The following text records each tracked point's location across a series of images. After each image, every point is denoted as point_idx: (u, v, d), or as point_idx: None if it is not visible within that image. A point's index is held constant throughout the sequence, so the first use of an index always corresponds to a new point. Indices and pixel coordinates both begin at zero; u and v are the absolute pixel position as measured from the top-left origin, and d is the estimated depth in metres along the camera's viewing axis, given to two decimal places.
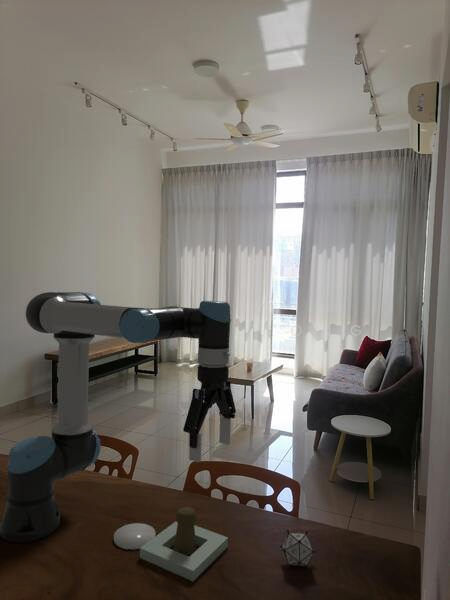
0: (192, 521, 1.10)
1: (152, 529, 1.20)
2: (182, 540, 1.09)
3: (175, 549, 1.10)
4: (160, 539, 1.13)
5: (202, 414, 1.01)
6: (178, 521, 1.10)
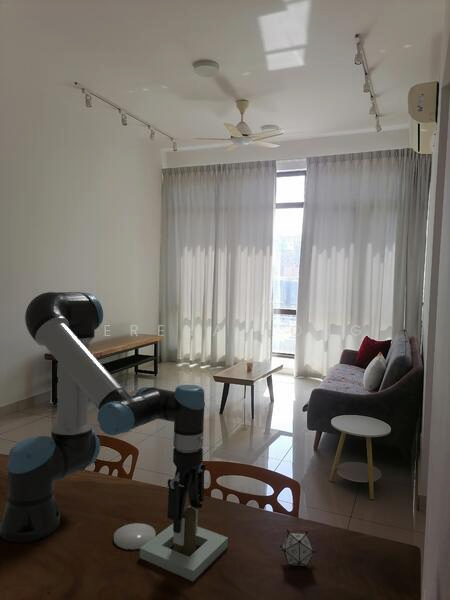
0: (192, 521, 1.10)
1: (152, 529, 1.20)
2: None
3: (175, 549, 1.10)
4: (160, 539, 1.13)
5: (181, 501, 1.08)
6: None
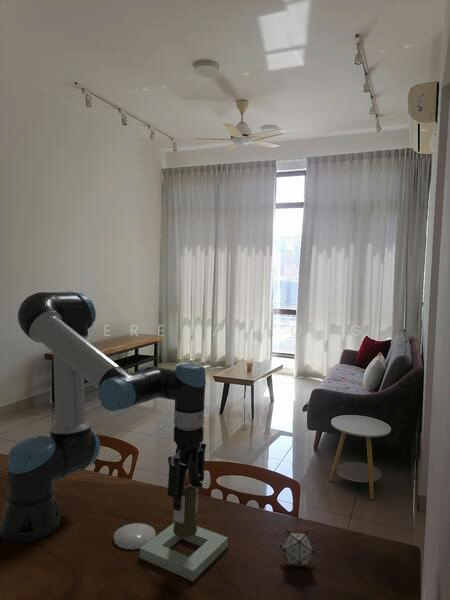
0: (192, 499, 1.10)
1: (152, 529, 1.20)
2: None
3: (175, 527, 1.10)
4: (160, 539, 1.13)
5: (182, 478, 1.08)
6: None
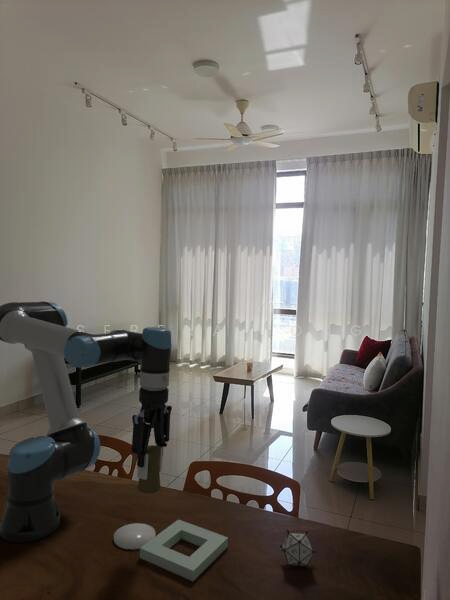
0: (156, 457, 1.14)
1: (152, 529, 1.20)
2: None
3: (139, 484, 1.14)
4: (160, 539, 1.13)
5: (146, 436, 1.12)
6: None
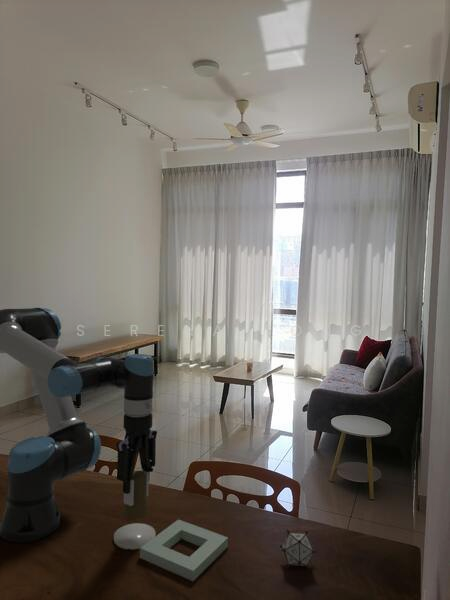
0: (142, 483, 1.15)
1: (152, 529, 1.20)
2: None
3: (126, 510, 1.16)
4: (160, 539, 1.13)
5: (131, 463, 1.14)
6: None
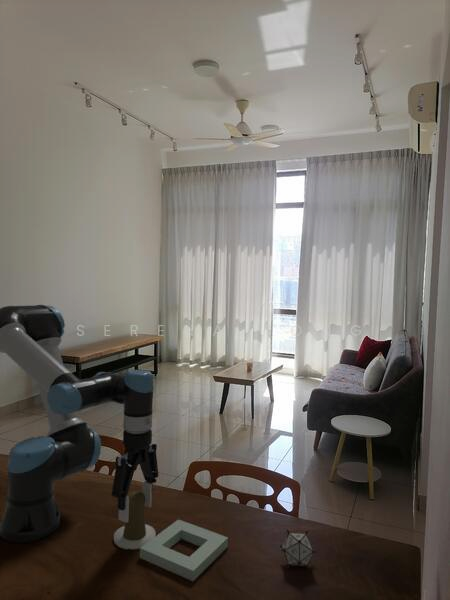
0: (141, 504, 1.16)
1: (152, 529, 1.20)
2: (131, 522, 1.15)
3: (125, 531, 1.16)
4: (160, 539, 1.13)
5: (127, 479, 1.13)
6: None
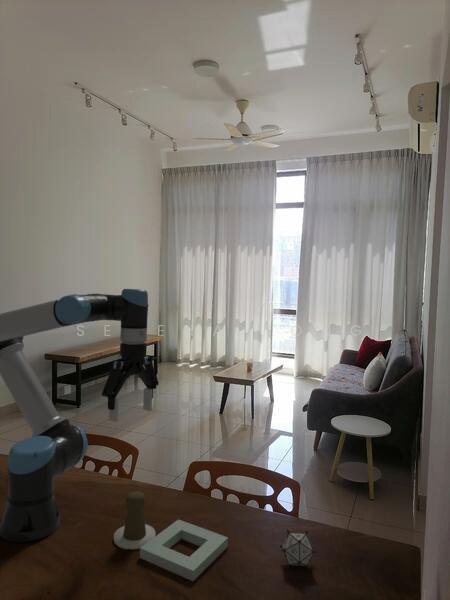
0: (141, 504, 1.16)
1: (152, 529, 1.20)
2: (131, 522, 1.15)
3: (125, 531, 1.16)
4: (160, 539, 1.13)
5: (120, 382, 1.22)
6: (127, 504, 1.16)
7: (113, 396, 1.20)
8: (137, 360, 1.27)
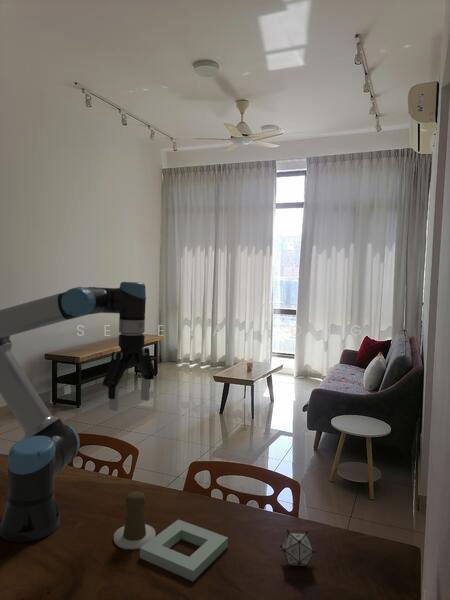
0: (141, 504, 1.16)
1: (152, 529, 1.20)
2: (131, 522, 1.15)
3: (125, 531, 1.16)
4: (160, 539, 1.13)
5: (119, 372, 1.26)
6: (127, 504, 1.16)
7: (113, 386, 1.24)
8: (135, 351, 1.31)
